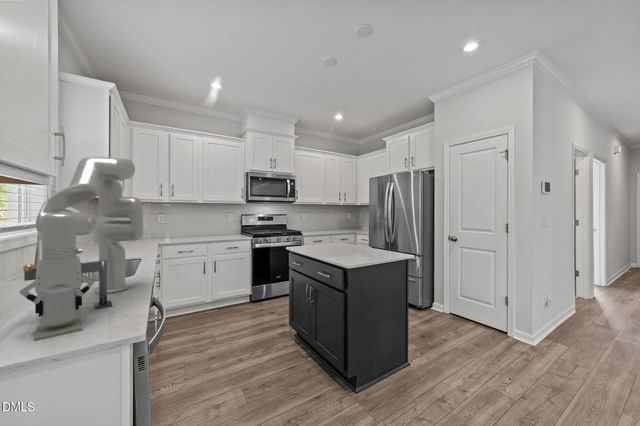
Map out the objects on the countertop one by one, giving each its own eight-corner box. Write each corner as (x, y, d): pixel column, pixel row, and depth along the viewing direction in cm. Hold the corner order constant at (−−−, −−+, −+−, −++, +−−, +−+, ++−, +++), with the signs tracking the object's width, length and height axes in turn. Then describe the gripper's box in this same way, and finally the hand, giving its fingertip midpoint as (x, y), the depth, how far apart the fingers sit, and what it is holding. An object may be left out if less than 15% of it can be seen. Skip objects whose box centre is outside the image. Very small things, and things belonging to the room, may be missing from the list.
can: (71, 316, 87) (71, 279, 87) (80, 321, 83) (80, 282, 83) (38, 324, 81) (38, 284, 81) (47, 330, 77) (46, 288, 77)
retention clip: (106, 301, 103) (106, 256, 103) (107, 302, 101) (107, 256, 101) (23, 317, 87) (22, 264, 87) (23, 319, 86) (22, 265, 85)
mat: (37, 327, 83) (37, 325, 83) (80, 318, 90) (80, 316, 90) (33, 340, 74) (33, 338, 74) (81, 330, 81) (82, 328, 81)
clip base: (94, 305, 102) (94, 303, 102) (110, 302, 105) (110, 300, 105) (94, 309, 98) (94, 306, 98) (112, 306, 101) (112, 303, 101)
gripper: (95, 250, 91) (95, 302, 91) (18, 255, 79) (19, 315, 79) (97, 252, 85) (97, 308, 85) (14, 259, 73) (15, 323, 73)
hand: (59, 311), depth 82 cm, fingers closed on can, 7 cm apart
